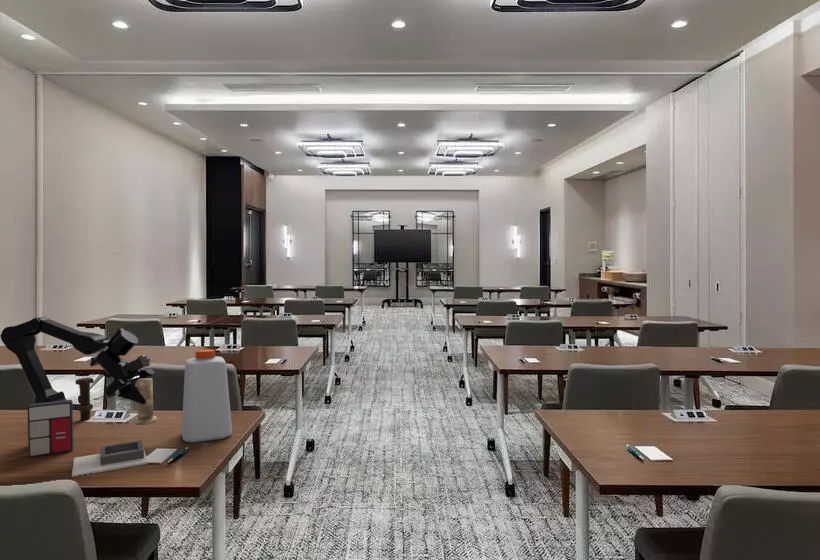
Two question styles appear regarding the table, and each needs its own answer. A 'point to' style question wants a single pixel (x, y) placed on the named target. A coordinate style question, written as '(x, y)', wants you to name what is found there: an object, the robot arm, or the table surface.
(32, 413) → the calculator
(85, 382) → the bolt
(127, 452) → the collar board
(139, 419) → the peg
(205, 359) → the plastic bottle
